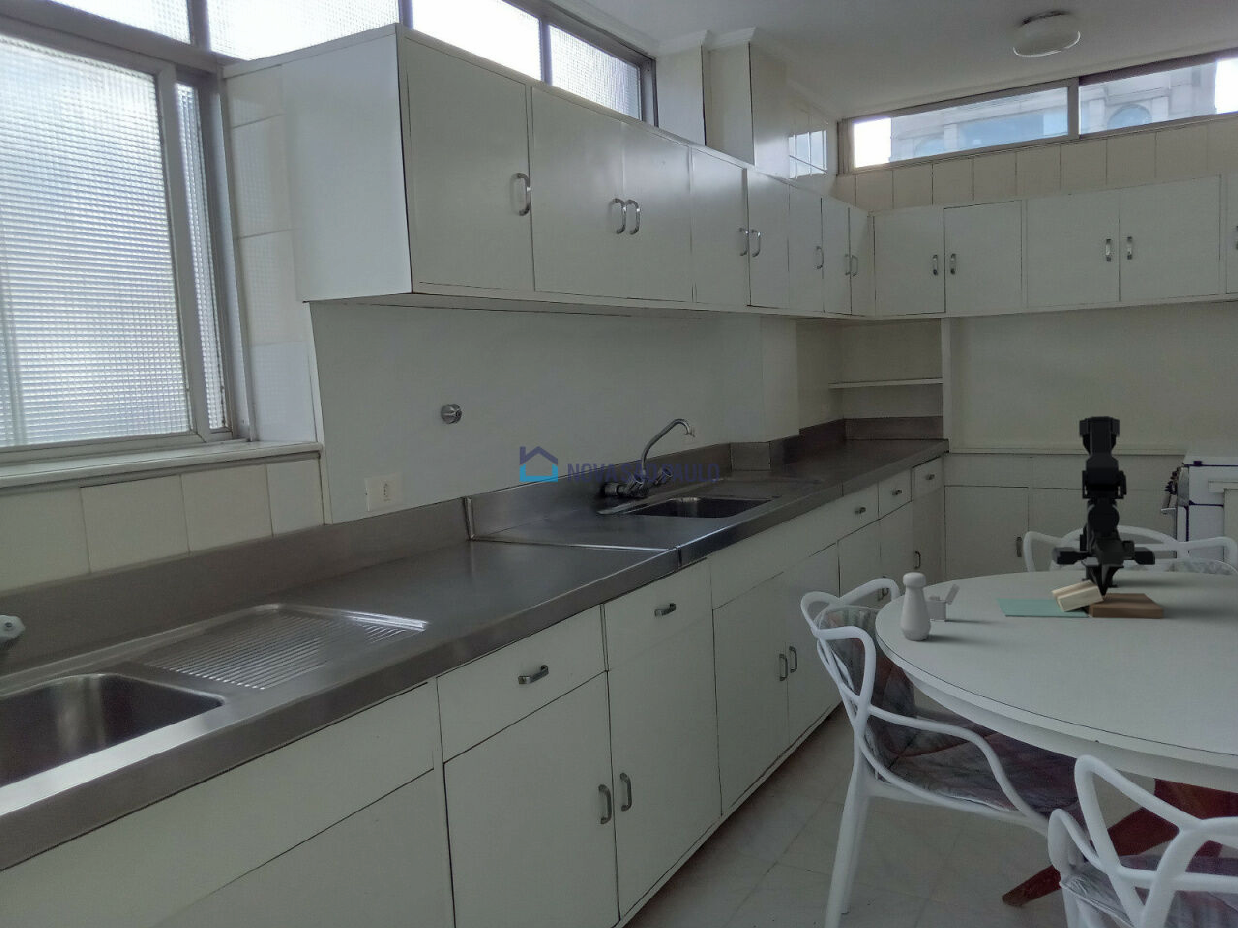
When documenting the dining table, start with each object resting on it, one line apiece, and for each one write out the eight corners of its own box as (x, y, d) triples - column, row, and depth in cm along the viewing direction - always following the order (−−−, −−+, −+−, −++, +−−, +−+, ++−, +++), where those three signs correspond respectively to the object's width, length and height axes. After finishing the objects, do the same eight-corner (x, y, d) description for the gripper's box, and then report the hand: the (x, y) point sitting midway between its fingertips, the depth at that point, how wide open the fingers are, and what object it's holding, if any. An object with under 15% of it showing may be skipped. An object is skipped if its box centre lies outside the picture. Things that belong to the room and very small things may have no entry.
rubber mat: (996, 599, 204) (996, 598, 204) (1073, 600, 200) (1073, 599, 200) (1005, 616, 191) (1005, 614, 191) (1088, 617, 186) (1088, 616, 186)
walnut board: (1078, 601, 199) (1078, 592, 199) (1144, 602, 196) (1144, 593, 195) (1092, 617, 187) (1092, 607, 186) (1162, 618, 183) (1163, 608, 183)
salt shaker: (931, 634, 181) (930, 570, 179) (931, 642, 175) (930, 577, 174) (901, 632, 183) (899, 570, 181) (900, 641, 177) (898, 576, 176)
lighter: (924, 619, 191) (923, 583, 190) (926, 617, 192) (925, 581, 192) (958, 623, 187) (958, 585, 186) (960, 621, 189) (960, 584, 188)
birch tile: (1056, 603, 197) (1051, 590, 197) (1094, 592, 195) (1089, 579, 195) (1063, 611, 190) (1058, 598, 190) (1103, 600, 188) (1098, 587, 188)
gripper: (1062, 530, 185) (1062, 604, 186) (1163, 529, 180) (1163, 605, 181) (1051, 521, 196) (1051, 591, 197) (1146, 520, 191) (1146, 592, 192)
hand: (1102, 595), depth 192 cm, fingers closed
